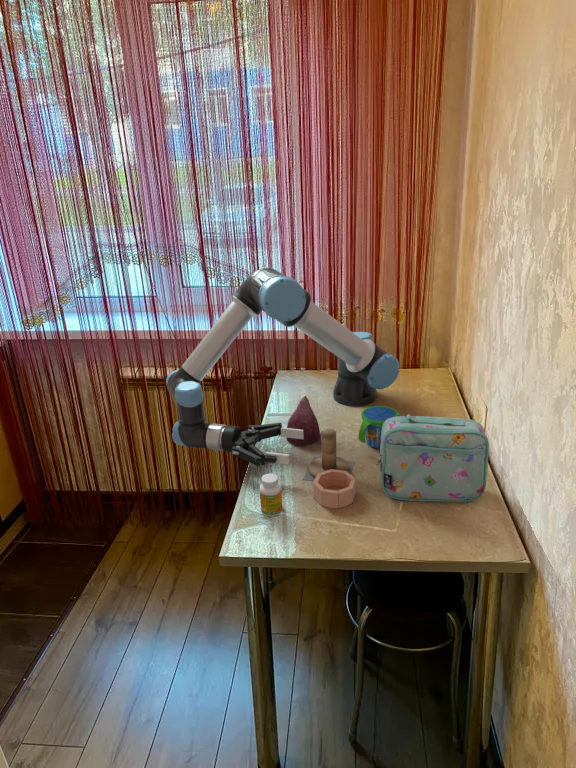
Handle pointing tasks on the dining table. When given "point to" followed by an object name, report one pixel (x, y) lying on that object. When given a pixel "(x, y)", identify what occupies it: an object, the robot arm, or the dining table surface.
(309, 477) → the mat
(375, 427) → the snack cup
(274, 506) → the supplement bottle
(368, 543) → the dining table surface
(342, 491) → the bowl
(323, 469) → the paper towel holder
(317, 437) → the vegetable
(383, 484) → the lunch box
